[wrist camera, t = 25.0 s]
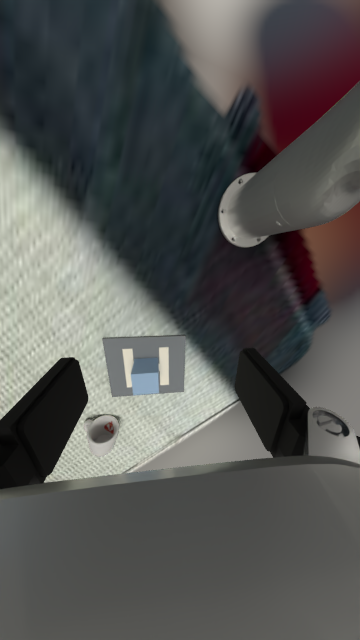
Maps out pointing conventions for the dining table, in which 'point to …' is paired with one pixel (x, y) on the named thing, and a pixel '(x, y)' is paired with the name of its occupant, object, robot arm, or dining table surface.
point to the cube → (145, 376)
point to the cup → (101, 434)
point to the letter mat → (129, 348)
